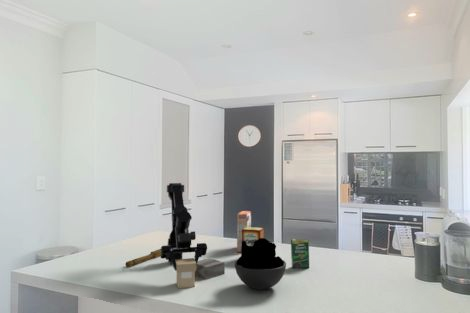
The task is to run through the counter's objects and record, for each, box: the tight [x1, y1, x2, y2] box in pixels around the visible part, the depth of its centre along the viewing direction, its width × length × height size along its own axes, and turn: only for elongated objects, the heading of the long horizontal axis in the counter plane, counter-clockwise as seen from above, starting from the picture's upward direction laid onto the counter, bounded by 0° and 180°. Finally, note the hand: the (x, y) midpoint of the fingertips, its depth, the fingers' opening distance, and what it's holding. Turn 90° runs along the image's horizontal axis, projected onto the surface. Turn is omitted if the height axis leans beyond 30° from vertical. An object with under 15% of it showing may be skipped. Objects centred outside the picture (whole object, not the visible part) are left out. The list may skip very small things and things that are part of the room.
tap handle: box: [124, 248, 161, 268], centre depth 179 cm, size 3×3×30 cm
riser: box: [195, 257, 226, 280], centre depth 155 cm, size 10×10×5 cm
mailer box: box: [176, 271, 196, 289], centre depth 142 cm, size 6×6×9 cm
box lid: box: [175, 258, 196, 274], centre depth 142 cm, size 8×8×3 cm
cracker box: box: [236, 210, 252, 253], centre depth 199 cm, size 14×6×21 cm, turn 168°
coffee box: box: [290, 238, 310, 269], centre depth 164 cm, size 8×3×13 cm, turn 92°
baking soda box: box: [242, 226, 265, 246], centre depth 178 cm, size 10×6×16 cm
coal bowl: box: [234, 237, 287, 291], centre depth 138 cm, size 20×20×19 cm
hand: (185, 269), depth 140 cm, fingers closed on box lid, 8 cm apart
